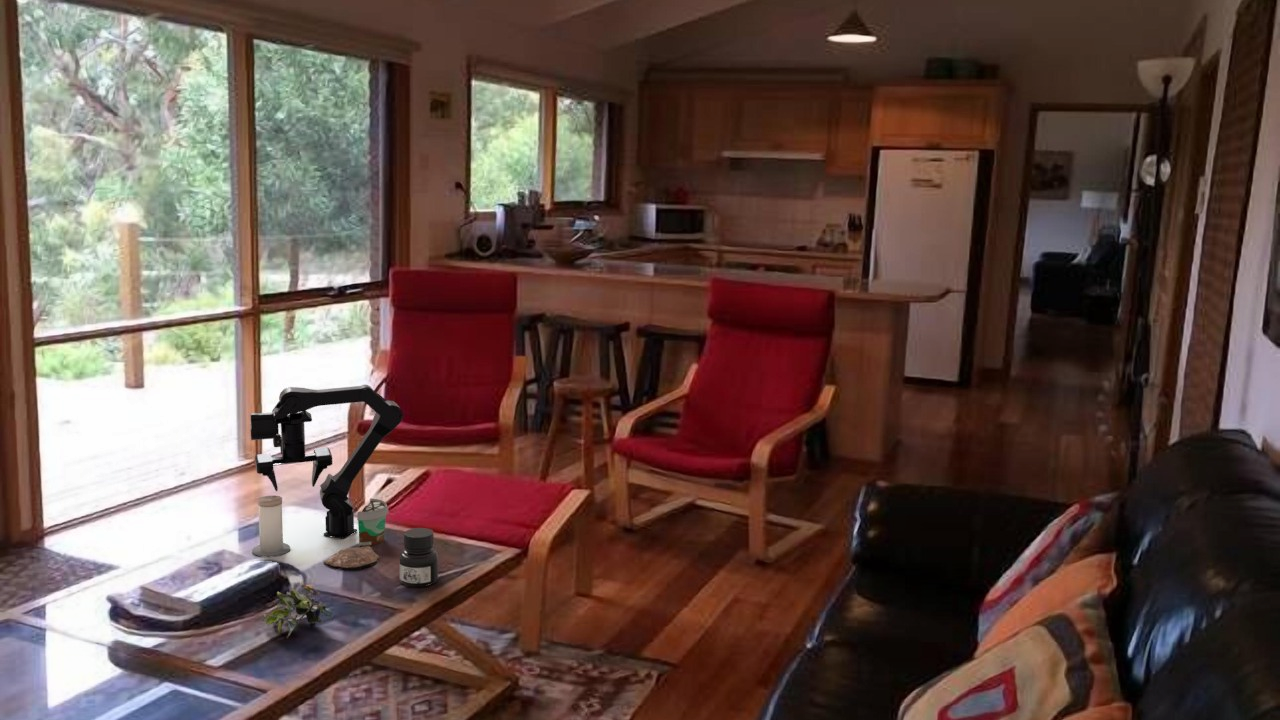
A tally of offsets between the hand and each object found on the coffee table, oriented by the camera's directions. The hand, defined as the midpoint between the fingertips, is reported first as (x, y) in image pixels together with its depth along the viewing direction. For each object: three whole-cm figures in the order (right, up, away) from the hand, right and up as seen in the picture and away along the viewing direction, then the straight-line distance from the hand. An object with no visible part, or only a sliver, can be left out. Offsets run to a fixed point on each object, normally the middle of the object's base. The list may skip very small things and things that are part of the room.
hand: (294, 488), depth 272 cm
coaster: (-2, -14, -11) cm, 18 cm away
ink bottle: (+39, -19, -28) cm, 51 cm away
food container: (+22, -14, -3) cm, 26 cm away
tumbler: (-2, -14, -11) cm, 18 cm away
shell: (+20, -17, -17) cm, 31 cm away
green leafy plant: (+19, -23, -56) cm, 63 cm away
